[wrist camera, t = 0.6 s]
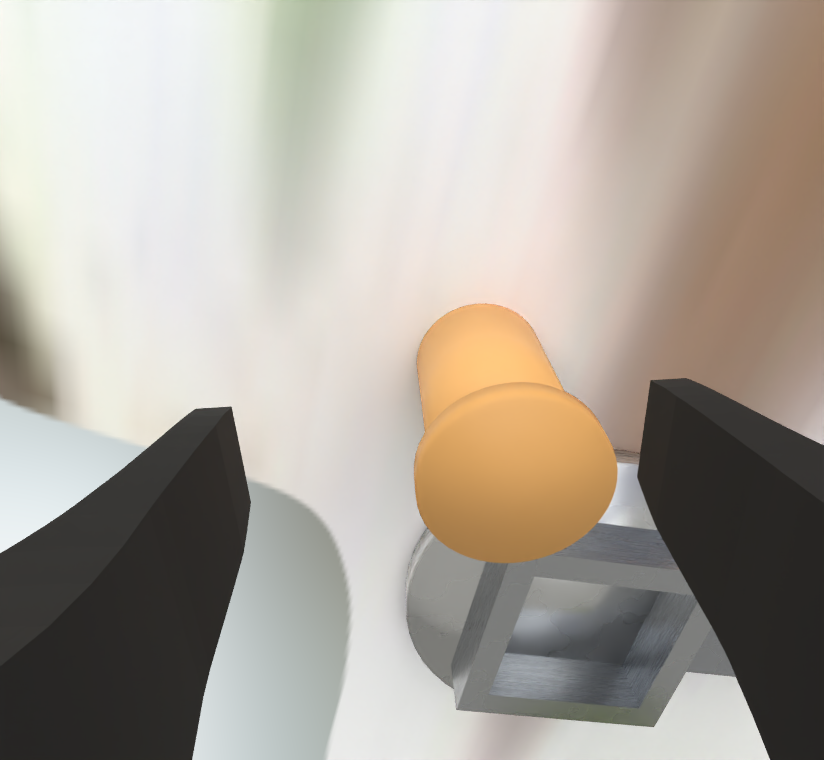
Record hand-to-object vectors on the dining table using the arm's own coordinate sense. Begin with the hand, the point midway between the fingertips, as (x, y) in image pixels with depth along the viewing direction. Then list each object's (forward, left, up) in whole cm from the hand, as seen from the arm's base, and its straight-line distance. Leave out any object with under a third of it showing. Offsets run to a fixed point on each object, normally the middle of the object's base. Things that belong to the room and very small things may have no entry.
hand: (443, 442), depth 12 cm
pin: (-3, +3, -10) cm, 10 cm away
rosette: (-12, +12, -10) cm, 19 cm away
